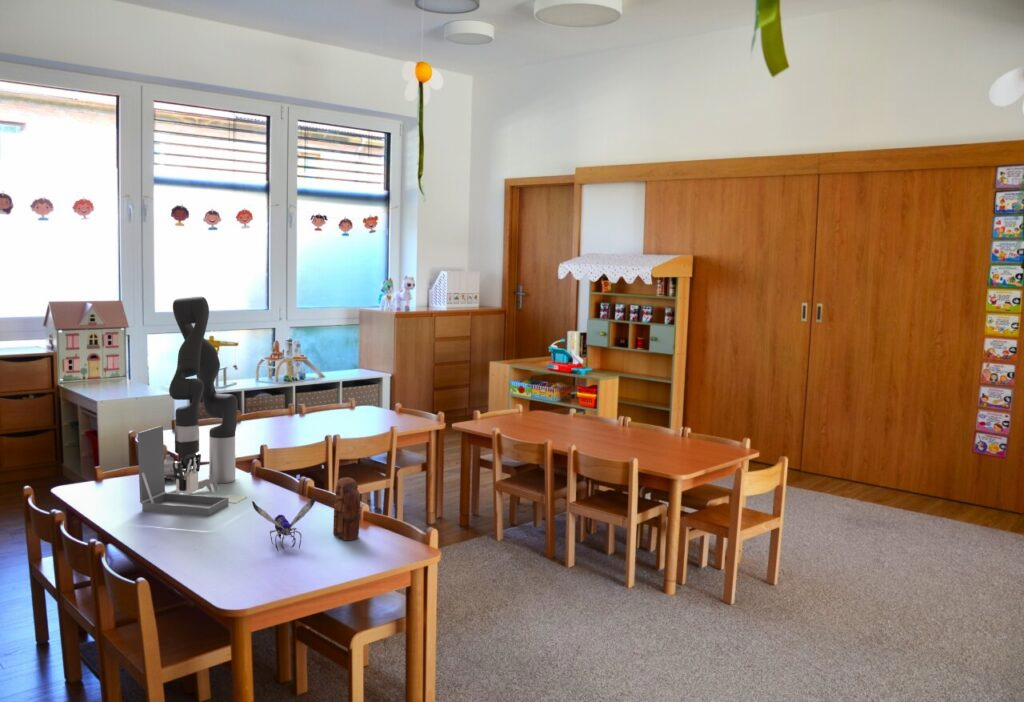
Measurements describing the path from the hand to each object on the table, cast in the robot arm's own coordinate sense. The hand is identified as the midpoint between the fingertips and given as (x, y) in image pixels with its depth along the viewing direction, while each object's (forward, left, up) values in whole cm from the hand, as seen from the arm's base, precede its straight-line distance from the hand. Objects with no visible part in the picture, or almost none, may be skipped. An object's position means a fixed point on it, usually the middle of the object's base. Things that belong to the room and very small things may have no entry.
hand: (187, 488), depth 272 cm
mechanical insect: (+25, +45, -7) cm, 52 cm away
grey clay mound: (-32, -27, -8) cm, 43 cm away
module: (0, 0, -1) cm, 1 cm away
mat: (-13, +9, -7) cm, 17 cm away
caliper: (-16, -9, -8) cm, 20 cm away
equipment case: (0, 0, -7) cm, 7 cm away
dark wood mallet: (+13, +60, -7) cm, 62 cm away
